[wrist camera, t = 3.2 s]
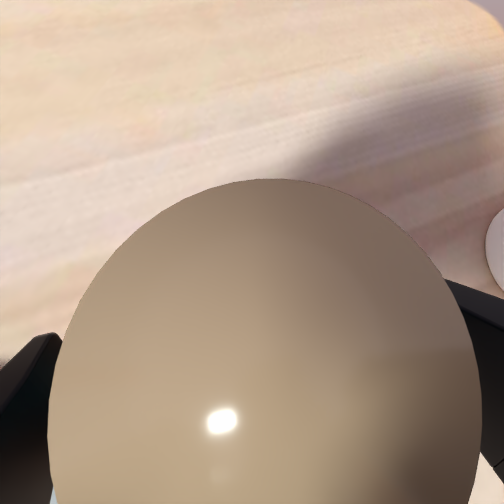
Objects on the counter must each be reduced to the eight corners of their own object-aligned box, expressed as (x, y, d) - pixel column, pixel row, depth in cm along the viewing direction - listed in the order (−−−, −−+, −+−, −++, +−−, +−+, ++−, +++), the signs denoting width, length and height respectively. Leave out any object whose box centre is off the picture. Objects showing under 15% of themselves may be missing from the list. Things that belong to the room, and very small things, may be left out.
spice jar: (269, 284, 15) (467, 211, 4) (261, 375, 14) (501, 649, 3) (183, 274, 15) (109, 145, 3) (168, 368, 14) (-26, 691, 2)
